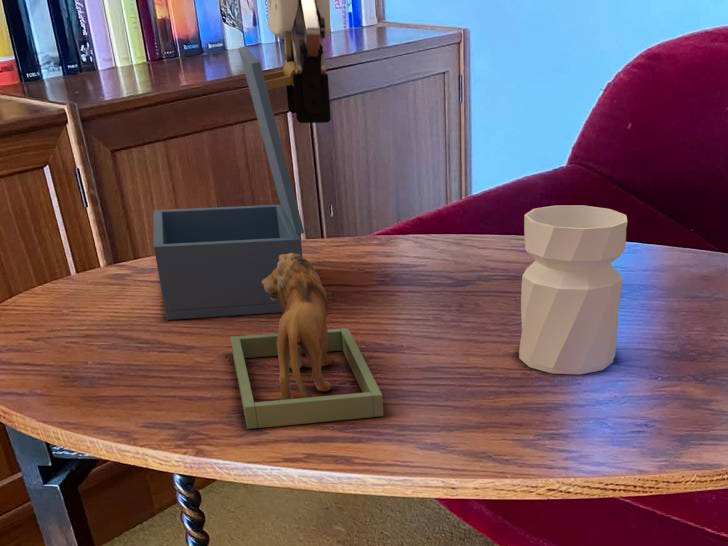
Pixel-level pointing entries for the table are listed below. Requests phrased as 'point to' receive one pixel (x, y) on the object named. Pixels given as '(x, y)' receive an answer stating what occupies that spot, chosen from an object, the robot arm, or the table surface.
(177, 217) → the chest
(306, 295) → the lion figurine
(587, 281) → the vase
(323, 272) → the table surface
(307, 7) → the robot arm
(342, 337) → the tray
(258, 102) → the lid
